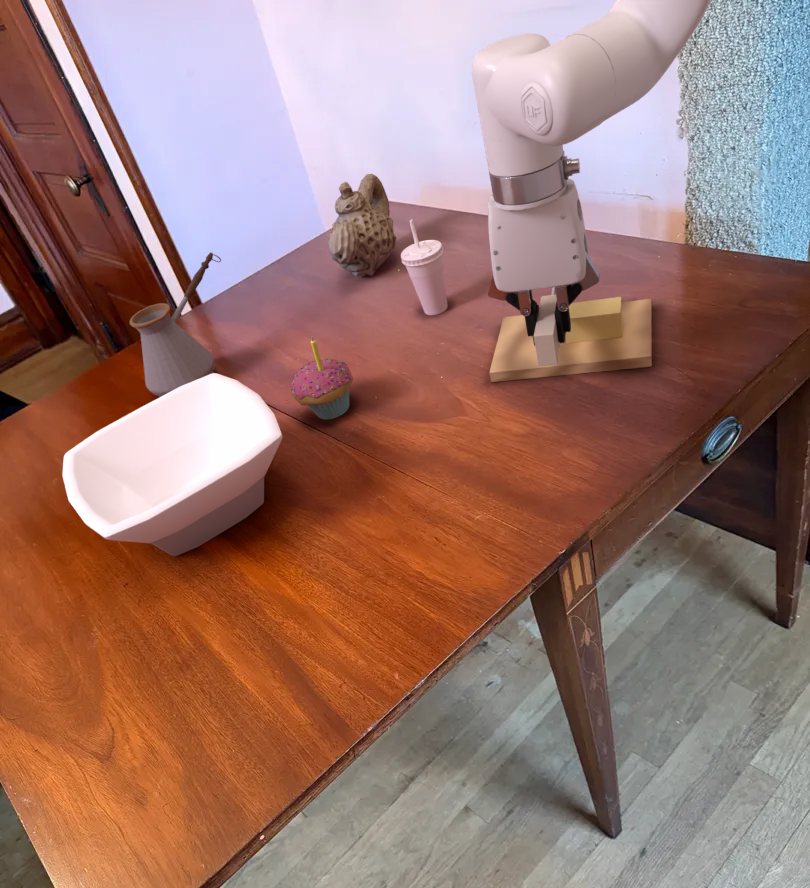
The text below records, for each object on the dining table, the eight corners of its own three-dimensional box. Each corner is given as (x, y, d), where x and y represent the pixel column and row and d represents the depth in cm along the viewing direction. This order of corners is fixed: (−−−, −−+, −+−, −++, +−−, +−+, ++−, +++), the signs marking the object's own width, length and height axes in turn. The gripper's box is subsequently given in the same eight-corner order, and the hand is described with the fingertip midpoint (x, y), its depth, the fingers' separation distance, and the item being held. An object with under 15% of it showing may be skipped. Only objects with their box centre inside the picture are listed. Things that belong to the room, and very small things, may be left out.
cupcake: (374, 399, 102) (347, 321, 94) (331, 435, 99) (299, 356, 91) (333, 386, 108) (304, 311, 100) (291, 420, 104) (257, 345, 96)
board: (651, 308, 100) (651, 298, 99) (651, 366, 91) (651, 356, 90) (505, 326, 107) (503, 317, 106) (491, 382, 98) (489, 372, 97)
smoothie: (436, 295, 120) (414, 208, 110) (464, 302, 116) (444, 212, 106) (408, 315, 117) (383, 228, 108) (436, 323, 113) (412, 233, 104)
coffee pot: (185, 412, 114) (136, 324, 104) (140, 402, 120) (90, 318, 110) (274, 337, 124) (238, 251, 114) (229, 331, 131) (190, 249, 121)
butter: (623, 320, 97) (621, 296, 95) (622, 337, 95) (620, 312, 92) (568, 327, 100) (565, 303, 97) (566, 343, 97) (563, 319, 95)
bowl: (329, 498, 89) (299, 429, 82) (140, 614, 83) (91, 550, 76) (252, 423, 106) (222, 361, 99) (91, 515, 100) (47, 456, 93)
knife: (557, 364, 86) (553, 334, 83) (538, 366, 87) (533, 336, 84) (569, 283, 98) (565, 254, 96) (552, 285, 99) (548, 257, 96)
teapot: (379, 294, 126) (351, 205, 116) (320, 299, 130) (289, 214, 120) (420, 236, 139) (398, 151, 129) (365, 242, 144) (340, 161, 134)
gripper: (610, 151, 76) (621, 313, 88) (458, 180, 82) (489, 329, 94) (607, 180, 71) (619, 348, 84) (446, 209, 77) (479, 362, 89)
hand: (550, 337), depth 89 cm, fingers closed on knife, 2 cm apart
